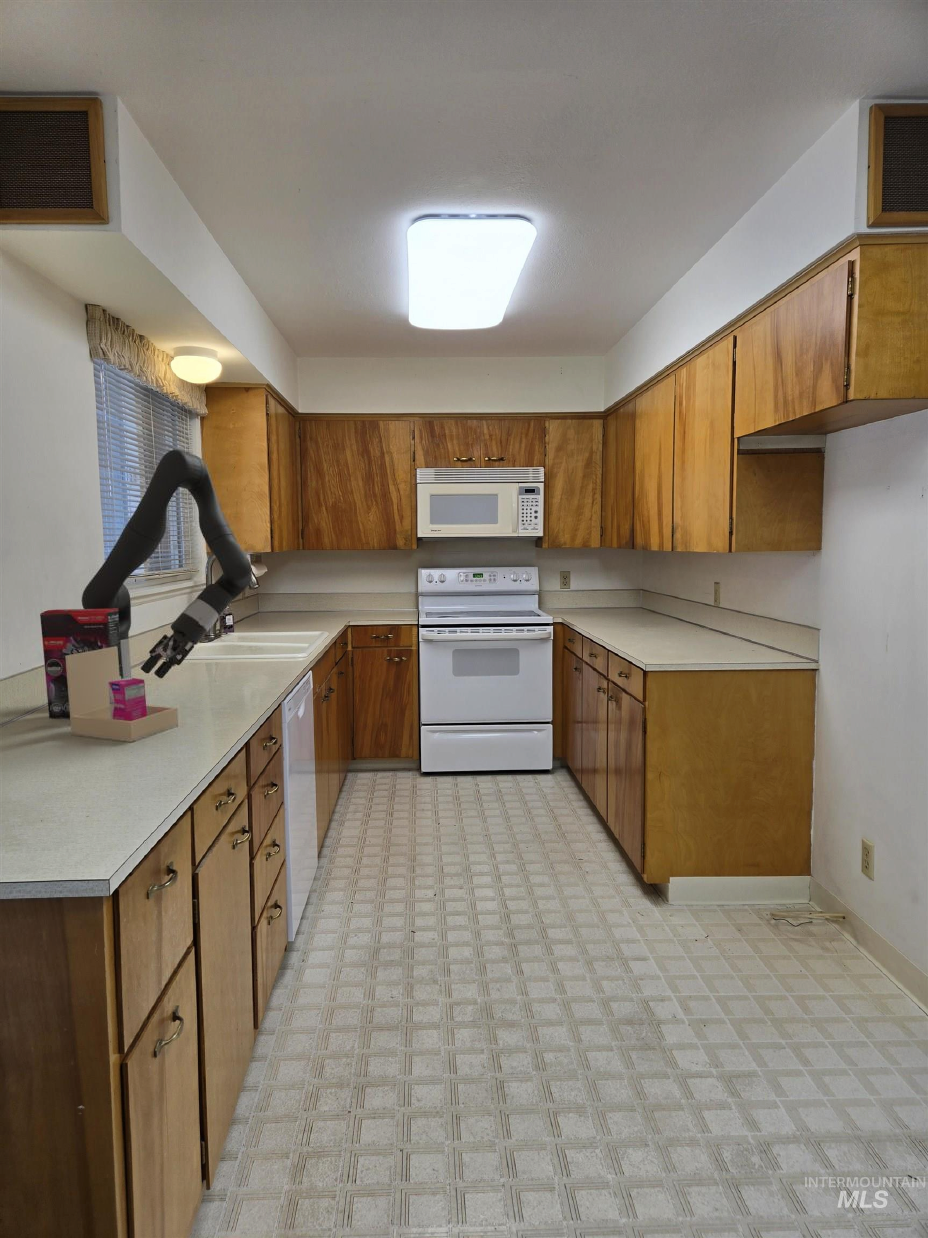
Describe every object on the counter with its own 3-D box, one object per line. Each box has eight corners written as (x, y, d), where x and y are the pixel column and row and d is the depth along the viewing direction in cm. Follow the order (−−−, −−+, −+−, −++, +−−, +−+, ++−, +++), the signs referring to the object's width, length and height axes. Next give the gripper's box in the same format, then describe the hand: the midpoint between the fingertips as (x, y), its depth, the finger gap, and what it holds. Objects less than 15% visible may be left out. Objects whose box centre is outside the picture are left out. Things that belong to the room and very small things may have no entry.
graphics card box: (46, 719, 176) (37, 611, 173) (61, 713, 183) (52, 608, 180) (115, 718, 176) (107, 610, 173) (127, 711, 183) (120, 607, 180)
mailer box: (71, 735, 161) (65, 655, 159) (120, 720, 174) (115, 646, 172) (132, 742, 155) (126, 659, 153) (178, 726, 168) (173, 649, 166)
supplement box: (110, 729, 163) (106, 681, 162) (133, 723, 168) (129, 676, 167) (126, 733, 160) (122, 683, 159) (149, 726, 166) (145, 678, 164)
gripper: (172, 609, 176) (127, 660, 170) (196, 613, 166) (149, 668, 160) (194, 628, 181) (151, 679, 174) (219, 633, 170) (174, 687, 164)
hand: (150, 673), depth 167 cm, fingers open, 8 cm apart
